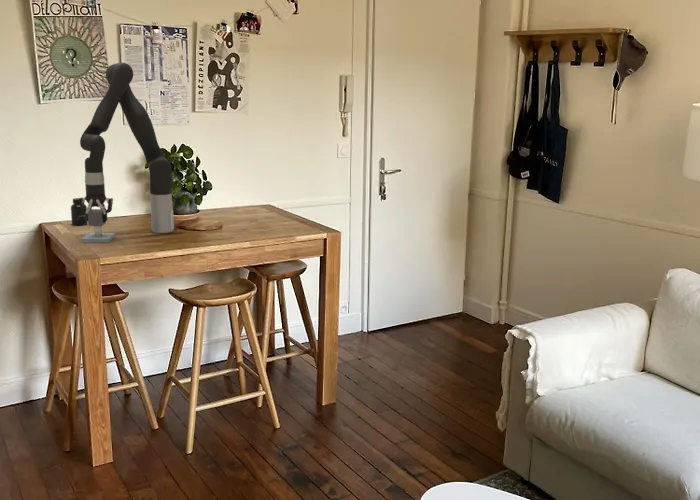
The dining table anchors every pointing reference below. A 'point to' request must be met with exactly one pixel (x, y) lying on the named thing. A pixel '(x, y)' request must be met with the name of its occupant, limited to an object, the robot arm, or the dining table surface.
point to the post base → (98, 236)
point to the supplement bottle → (78, 214)
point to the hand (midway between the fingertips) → (97, 222)
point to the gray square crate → (95, 217)
